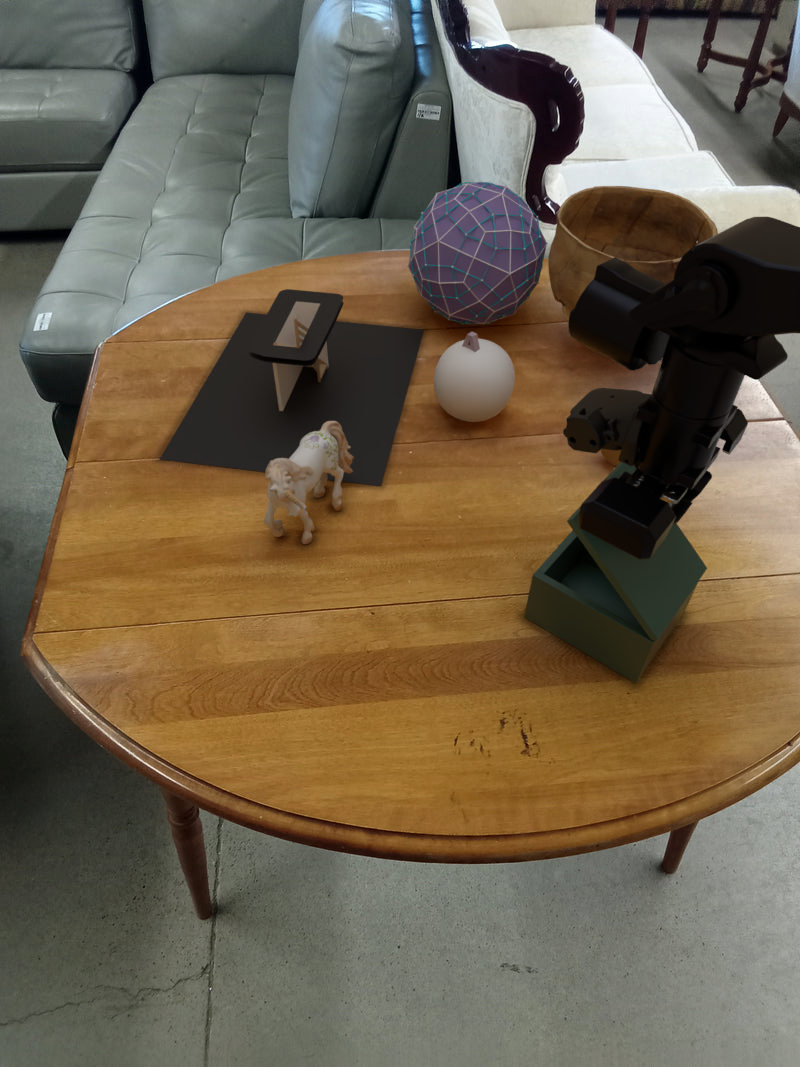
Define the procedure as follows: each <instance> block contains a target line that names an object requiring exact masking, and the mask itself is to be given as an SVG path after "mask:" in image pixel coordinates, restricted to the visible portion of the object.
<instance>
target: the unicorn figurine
mask: <svg viewBox="0 0 800 1067" xmlns="http://www.w3.org/2000/svg"><path fill="white" fill-rule="evenodd" d="M350 448H351V447H350V446H349V445H348V442H347V440H346V438H345V435H344V433H343V431H342V427H341V425H340V424H339V423H338V422H336V421H327V422H325V423H324V424H323V425H322V428H321V430H320V431H313V432H310V433H308V434H307V435H305V436H304V437H303V438H302V439H301V441H300V445H299V447H298V448H297V450H296V451H295V452H294V453H293V454H292V456H291V457H290V458H289V459H287V458H277V459H274V460H271V461H270V463H269V464H268V466H267V468H266V472H264V473H265V475H264V476H265V480H266V481H269V482H268V487H267V499H268V502H267V508H266V512H265V515H264V521H263V522H264V524H265V525H266V526H265V527H267V528H268V529H269V532H270V534H271V535H272V536H274V537H276V538H280V537H283V536H285V535H286V532H287V530H286V529H285V527H284V522H283V521H282V519H275V514H276V512H277V510H278V509H279V508H280V509H283V510H284V509H285V510H286V509H287V511H288V516H289V517H297V516H299V518H300V519H301V521H302V522H303V529H304V531H303V533H302V536H301V538H300V541H301V543H302V544H303V545H308V544H310V543H312V541H313V533H312V532H313V531H314V530H315V529H316V528H315V526H314V521H313V519H312V518H311V517H309V512H308V511H307V505H305V504H306V501H307V495H308V493H310V492H311V491H312V490H313V493H312V496H313V497H314V498H315V499H319V498H322V497H324V495H325V494H326V488H325V487H326V486H327V483H328V480H327V479H328V477H327V473H330V474H331V475H333V476H335V481H334V482H333V490H332V492H331V498H332V502H331V505H332V508H333V509H334V511H338V512H339V511H340V510H342V509H343V501H342V498H343V487H342V485H341V484H342V482H343V481H342V478H343V474H344V472H346V473H352V472H353V470H352V469H351V468H350V464H351V463H352V462H353V461H352V459H353V458H354V457H353V456H352V455H351V454H350V453H349V452H348V451H347V450H348V449H350Z"/></svg>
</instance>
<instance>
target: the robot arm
mask: <svg viewBox="0 0 800 1067" xmlns="http://www.w3.org/2000/svg"><path fill="white" fill-rule="evenodd" d="M567 323H568V322H567ZM567 328H568V334H569V336H570V338H571V339H573V340H575V341H576V342H578V343H580V344H582V345H583V346H585V347H587V348H588V347H589V348H591V349H593V350H594V351H596V352H598V353H597V354H599V353H600V355H601V356H602V357H603V356H604V357H605V358H607V359H609V360H610V361H612V362H614V363H616V364H618V365H619V366H621V367H623V368H625V369H626V370H629V371H630V372H631V371H632V372H635V371H638V370H641V369H642V368H644V367H645V366H646V365H649V366H654V365H656V364H658V363H659V362H660V361H661V363H660V366H659V369H658V372H657V375H656V380H655V382H654V386H653V388H652V392H651V393H646V392H643V391H641V390H635V389H623V388H614V387H613V388H611V387H598V388H595V389H592V390H590V391H588V393H587V394H585V396H583V398H581V399H580V400H579V401H578V402H577V403H576V404H575V405H574V406H573V407H572V408H571V409H570V414H569V415H568V416H567V417H566V418H565V419H566V427H565V428H564V429H563V430H562V433H563V436H564V437H565V438H566V441H567V445H568V447H570V448H571V449H572V450H573V451H576V452H583V453H590V454H598V453H599V452H601V449H607V450H615V451H616V450H621V452H620V456H619V459H618V461H621V462H623V463H625V464H627V465H629V466H633V465H635V467H636V470H635V472H634V473H633V474H631V473H628V472H626V471H625V472H624V473H623V474H622V475H621V476H620V477H619V479H618V478H616V477H615V478H611V479H608V480H605V479H603V480H601V482H600V483H599V484H598V485H597V486H596V487H595V489H594V490H592V492H591V493H590V494H589V495H588V496H587V497H586V499H584V500H583V502H582V503H580V504H581V505H580V506H581V508H580V512H579V516H578V519H577V522H578V525H579V527H580V529H582V530H584V531H586V532H588V533H590V534H592V535H594V536H596V537H598V538H600V539H602V540H603V541H605V542H607V543H609V544H611V545H613V546H615V547H617V548H619V549H621V550H623V551H625V552H627V553H628V554H630V555H632V556H634V557H636V558H638V559H650V558H651V557H652V555H653V554H654V553H655V551H656V550H657V549H658V548H659V546H660V545H661V544H662V542H663V541H664V540H665V538H666V536H667V535H668V533H669V531H670V529H671V528H672V526H673V524H675V523H677V524H678V522H680V521H681V519H682V518H683V517H684V515H685V514H686V513H687V511H688V510H689V509H690V508H691V506H692V505H693V501H694V500H695V499H696V498H697V497H698V496H700V494H701V493H702V492H703V490H704V489H705V488H706V487H707V485H708V484H709V483H710V481H711V480H712V478H713V474H712V473H711V472H710V471H709V468H710V467H711V466H712V465H713V463H714V462H715V461H716V459H717V458H718V456H719V453H720V450H722V453H725V454H726V455H731V453H732V452H733V451H734V449H735V448H736V447H737V445H738V444H739V443H740V442H741V440H742V439H743V436H744V434H745V431H746V429H747V428H748V425H749V422H748V419H747V418H746V416H745V415H744V412H743V410H742V409H740V408H738V405H735V404H734V403H735V402H736V399H737V397H738V394H739V392H740V388H741V386H742V384H743V382H744V379H745V376H746V377H748V378H750V379H751V380H754V381H755V380H756V381H758V380H760V379H762V378H763V377H765V376H766V375H768V374H769V373H770V372H772V371H773V370H775V369H776V368H778V367H779V366H781V365H782V364H783V363H785V362H786V361H787V360H788V355H789V354H788V353H787V351H786V350H785V347H784V346H783V344H782V343H781V342H780V341H779V340H778V339H777V337H776V336H778V335H789V334H800V226H798V225H795V224H792V223H789V222H786V221H783V220H782V219H781V220H780V219H778V218H776V217H771V216H752V217H749V218H746V219H744V220H742V221H740V222H738V223H736V224H735V225H732V226H730V227H728V228H726V229H725V230H722V231H720V232H718V234H717V235H715V236H713V237H711V238H709V239H707V240H705V241H703V242H701V243H700V244H698V245H696V246H694V247H693V248H691V249H690V250H689V251H688V252H687V253H685V254H684V255H683V257H682V258H681V260H680V262H679V263H678V265H677V267H676V271H675V275H674V280H672V281H670V282H669V283H667V284H666V283H663V282H661V281H659V280H657V279H655V278H653V277H651V276H649V275H646V274H644V273H642V272H640V271H638V270H636V269H634V268H633V267H632V266H630V265H629V264H628V263H626V262H625V261H622V260H620V259H618V258H616V257H614V258H612V259H610V260H608V261H606V262H604V263H602V264H600V265H598V266H597V268H596V273H595V277H594V279H593V280H592V281H591V282H590V284H589V285H588V286H587V287H586V288H585V290H584V291H583V293H582V294H581V296H580V298H579V300H578V301H577V303H576V306H575V308H574V309H573V310H572V311H571V313H570V317H569V323H568V324H567ZM589 348H588V349H589ZM591 349H590V350H591ZM594 351H593V352H594ZM596 352H595V353H596ZM719 440H722V441H724V444H723V447H722V449H721V447H719V446H717V445H718V442H719Z"/></svg>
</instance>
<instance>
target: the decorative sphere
mask: <svg viewBox="0 0 800 1067" xmlns="http://www.w3.org/2000/svg"><path fill="white" fill-rule="evenodd" d="M527 202H528V201H525V200H524V199H523V198H522V197H521V196H520V194H517V193H516V192H515V191H514V190H512V189H511V188H509V187H508V186H507V185H503V184H497V183H493V182H492V181H482V180H480V181H465V182H464V181H462V182H460V183H459V184H458V185H456V186H454V187H453V188H449V189H446V190H442V191H440V192H436V193H435V195H434V197H433V198H432V199H431V201H430V202H429V204H428V205H427V207H426V208H425V209H424V210H423V211H421V213H420V217H419V219H418V220H417V222H416V223H415V225H414V226H413V232H412V237H411V239H410V242H409V243H408V244H409V256H408V263H407V268H408V270H409V273H410V274H411V276H412V279H413V281H414V284H415V287H416V290H417V293H419V295H420V297H422V298H423V299H424V301H425V302H426V303H427V304H428V306H430V308H431V309H432V310H433V312H434V313H436V314H438V315H441V316H442V317H444V318H445V319H446V320H447V321H453V322H456V323H459V324H460V325H462V326H464V325H490V324H492V323H494V322H496V321H498V320H501V319H505V318H507V317H512V316H515V315H516V313H517V312H518V310H519V309H520V308H521V307H522V306H523V304H524V303H525V301H527V300H528V299H530V296H531V294H532V292H533V291H534V290H535V288H536V287H537V285H539V284H540V283H539V282H540V276H541V272H542V270H543V269H544V259H545V254H546V251H547V246H548V242H547V240H546V238H545V236H544V234H543V232H542V230H541V228H540V222H539V216H538V215H537V214H536V213H535V212H534V210H533V209H531V207H530V206H529V204H528V203H527Z"/></svg>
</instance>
